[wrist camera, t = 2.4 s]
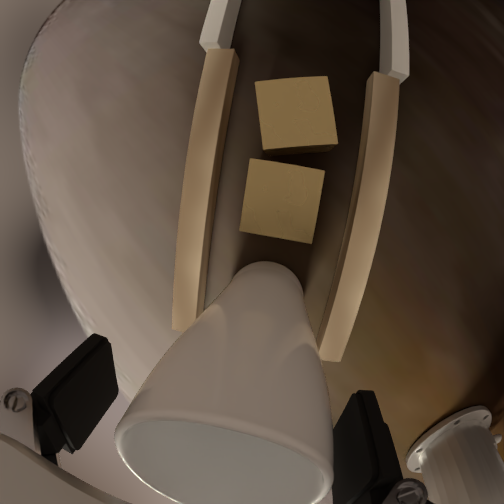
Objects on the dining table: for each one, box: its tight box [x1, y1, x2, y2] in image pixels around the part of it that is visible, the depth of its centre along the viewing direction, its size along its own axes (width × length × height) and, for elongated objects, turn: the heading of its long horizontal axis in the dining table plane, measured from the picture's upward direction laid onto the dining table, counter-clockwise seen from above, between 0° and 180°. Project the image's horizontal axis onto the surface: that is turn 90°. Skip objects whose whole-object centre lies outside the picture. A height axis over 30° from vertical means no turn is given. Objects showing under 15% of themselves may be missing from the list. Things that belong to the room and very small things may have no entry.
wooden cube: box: [239, 158, 325, 244], centre depth 17 cm, size 4×4×4 cm
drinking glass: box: [114, 261, 334, 504], centre depth 13 cm, size 7×7×15 cm
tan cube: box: [255, 76, 338, 156], centre depth 15 cm, size 4×4×4 cm
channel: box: [172, 49, 400, 362], centre depth 18 cm, size 13×20×2 cm, turn 171°
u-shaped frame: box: [199, 0, 409, 84], centre depth 13 cm, size 13×11×3 cm
